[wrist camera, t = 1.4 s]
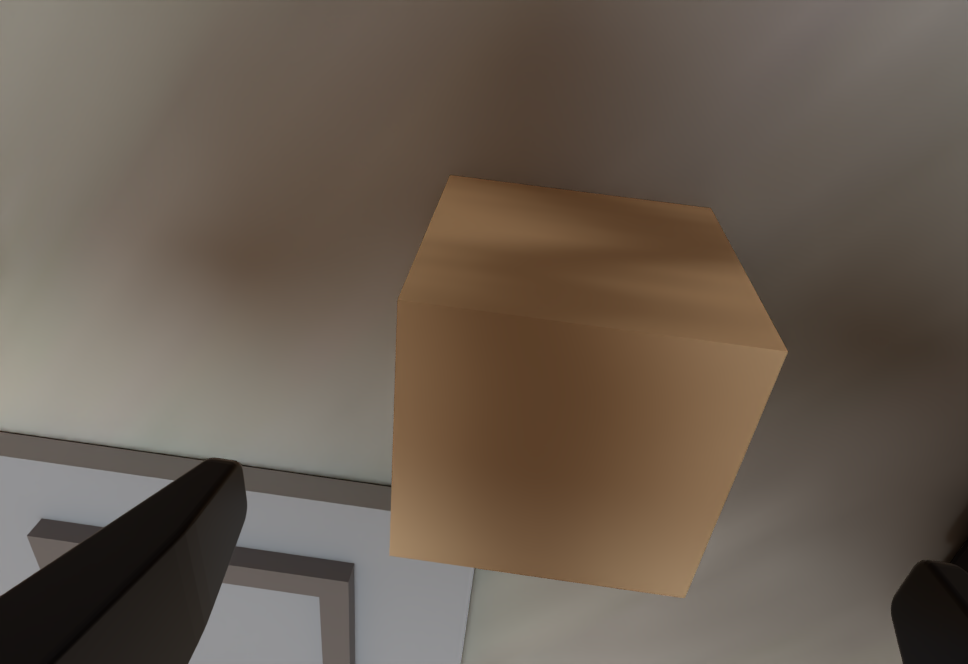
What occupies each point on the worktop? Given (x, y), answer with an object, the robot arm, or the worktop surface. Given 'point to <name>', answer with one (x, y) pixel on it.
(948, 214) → the worktop surface
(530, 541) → the oak cube
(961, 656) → the robot arm
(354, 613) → the grey flat square plate
